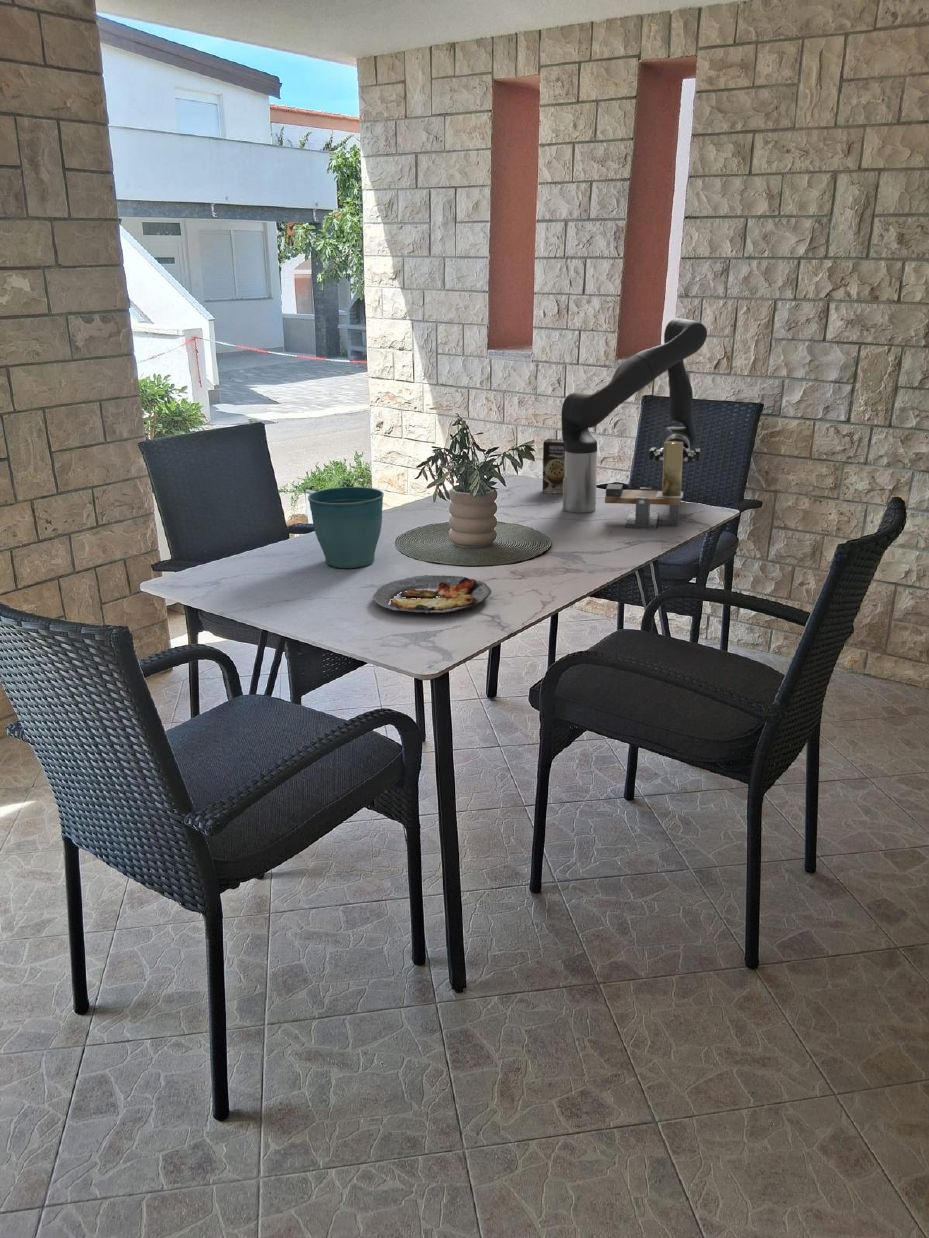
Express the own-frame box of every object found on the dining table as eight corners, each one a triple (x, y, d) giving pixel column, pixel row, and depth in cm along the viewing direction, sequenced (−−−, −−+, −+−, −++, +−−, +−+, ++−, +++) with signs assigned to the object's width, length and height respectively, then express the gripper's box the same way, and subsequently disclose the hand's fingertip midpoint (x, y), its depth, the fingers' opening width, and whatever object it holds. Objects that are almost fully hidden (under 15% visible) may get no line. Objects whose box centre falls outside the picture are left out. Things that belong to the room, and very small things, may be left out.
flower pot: (343, 548, 242) (338, 483, 236) (401, 557, 233) (398, 490, 227) (298, 567, 227) (292, 499, 221) (358, 577, 218) (353, 506, 212)
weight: (661, 496, 252) (663, 444, 247) (662, 492, 257) (664, 441, 252) (680, 496, 251) (683, 444, 246) (681, 492, 256) (683, 441, 251)
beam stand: (625, 527, 253) (626, 498, 250) (630, 514, 266) (631, 486, 263) (676, 530, 250) (678, 500, 247) (679, 517, 263) (681, 488, 260)
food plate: (499, 585, 210) (499, 570, 209) (478, 623, 189) (477, 607, 188) (393, 582, 216) (392, 568, 215) (361, 619, 195) (359, 603, 194)
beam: (604, 503, 254) (605, 490, 253) (609, 494, 263) (609, 482, 262) (681, 505, 249) (682, 492, 248) (683, 496, 258) (683, 484, 257)
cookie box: (541, 493, 294) (542, 441, 288) (546, 488, 300) (546, 438, 294) (570, 494, 291) (571, 442, 286) (574, 489, 297) (575, 439, 291)
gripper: (652, 434, 276) (648, 444, 262) (702, 435, 273) (700, 446, 258) (651, 460, 279) (647, 471, 264) (700, 461, 276) (698, 472, 261)
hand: (673, 458), depth 261 cm, fingers open, 8 cm apart
